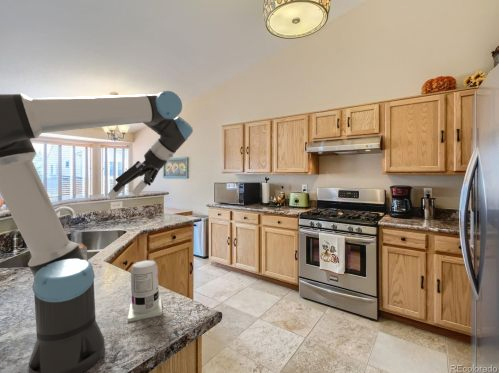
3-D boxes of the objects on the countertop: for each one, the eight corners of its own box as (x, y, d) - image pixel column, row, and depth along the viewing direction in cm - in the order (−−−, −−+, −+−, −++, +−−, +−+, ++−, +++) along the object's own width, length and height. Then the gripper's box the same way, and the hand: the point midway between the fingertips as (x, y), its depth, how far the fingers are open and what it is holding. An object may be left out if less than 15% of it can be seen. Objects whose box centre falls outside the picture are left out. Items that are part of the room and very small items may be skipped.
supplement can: (126, 310, 81) (124, 265, 81) (147, 299, 89) (146, 257, 88) (143, 317, 78) (141, 269, 77) (164, 304, 85) (162, 261, 84)
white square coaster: (162, 314, 81) (162, 311, 80) (127, 321, 77) (127, 318, 77) (161, 300, 90) (161, 297, 90) (130, 306, 86) (130, 303, 86)
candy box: (73, 278, 111) (71, 244, 110) (84, 275, 114) (83, 242, 113) (77, 284, 104) (75, 248, 104) (89, 281, 107) (87, 246, 107)
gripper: (147, 159, 78) (106, 206, 81) (180, 163, 103) (148, 199, 106) (131, 143, 79) (91, 190, 82) (168, 150, 104) (136, 186, 107)
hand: (123, 195), depth 94 cm, fingers open, 13 cm apart
